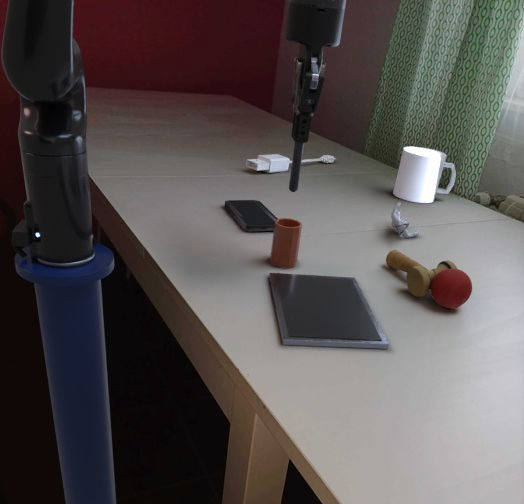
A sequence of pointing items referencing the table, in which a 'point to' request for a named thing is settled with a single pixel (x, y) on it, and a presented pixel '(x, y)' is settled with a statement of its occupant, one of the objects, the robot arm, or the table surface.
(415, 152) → the mug
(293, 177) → the stylus
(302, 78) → the robot arm
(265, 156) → the charging cable
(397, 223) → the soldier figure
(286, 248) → the pen cup
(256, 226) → the phone
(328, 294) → the tablet
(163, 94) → the table surface
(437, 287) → the kendama
